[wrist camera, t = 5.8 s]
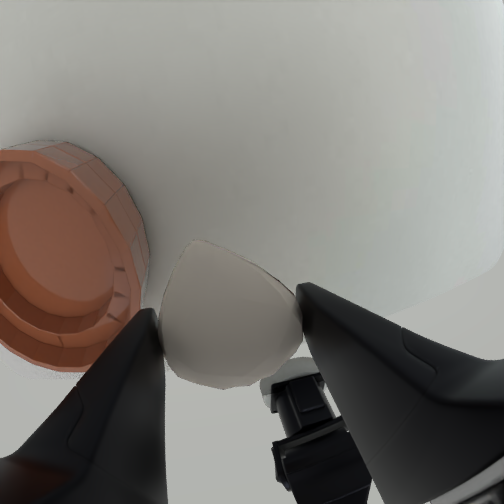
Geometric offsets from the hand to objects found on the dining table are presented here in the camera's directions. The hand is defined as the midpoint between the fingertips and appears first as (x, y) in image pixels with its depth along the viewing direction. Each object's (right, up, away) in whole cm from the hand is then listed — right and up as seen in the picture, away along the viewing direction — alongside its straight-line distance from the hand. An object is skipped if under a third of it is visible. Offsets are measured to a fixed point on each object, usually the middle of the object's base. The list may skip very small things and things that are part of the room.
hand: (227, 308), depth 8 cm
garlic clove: (0, 0, +1) cm, 1 cm away
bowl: (-13, +2, +7) cm, 15 cm away
